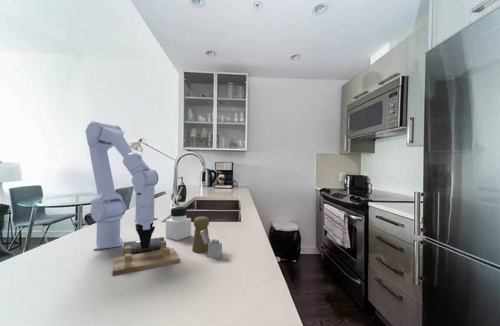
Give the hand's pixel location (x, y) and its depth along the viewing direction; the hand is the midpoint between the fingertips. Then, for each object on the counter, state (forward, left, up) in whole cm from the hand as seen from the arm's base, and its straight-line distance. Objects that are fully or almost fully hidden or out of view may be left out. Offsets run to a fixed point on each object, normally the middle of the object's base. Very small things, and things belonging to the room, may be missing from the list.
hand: (144, 246), depth 75 cm
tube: (0, 0, -1) cm, 1 cm away
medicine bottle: (-10, +13, -2) cm, 16 cm away
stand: (+10, 0, -1) cm, 10 cm away
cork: (+8, +17, -2) cm, 19 cm away
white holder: (+15, +18, -2) cm, 23 cm away
